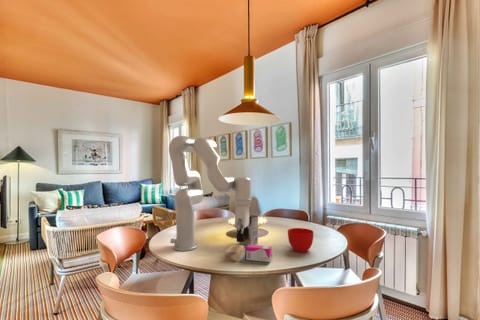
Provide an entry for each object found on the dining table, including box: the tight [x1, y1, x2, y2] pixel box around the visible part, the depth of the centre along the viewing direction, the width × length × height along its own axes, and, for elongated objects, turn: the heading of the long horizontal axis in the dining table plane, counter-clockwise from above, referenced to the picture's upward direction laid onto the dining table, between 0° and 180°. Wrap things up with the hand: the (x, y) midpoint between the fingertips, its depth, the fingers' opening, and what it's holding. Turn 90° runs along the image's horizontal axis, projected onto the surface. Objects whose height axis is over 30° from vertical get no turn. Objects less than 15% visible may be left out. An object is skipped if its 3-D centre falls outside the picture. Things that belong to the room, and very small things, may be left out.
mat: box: [239, 254, 270, 266], centre depth 121 cm, size 13×12×1 cm
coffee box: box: [238, 213, 259, 246], centre depth 146 cm, size 9×6×16 cm
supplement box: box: [244, 244, 273, 263], centre depth 119 cm, size 6×6×12 cm
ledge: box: [224, 244, 245, 262], centre depth 124 cm, size 6×11×4 cm, turn 164°
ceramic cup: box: [287, 227, 314, 253], centre depth 135 cm, size 13×17×10 cm
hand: (242, 239), depth 123 cm, fingers open, 9 cm apart
